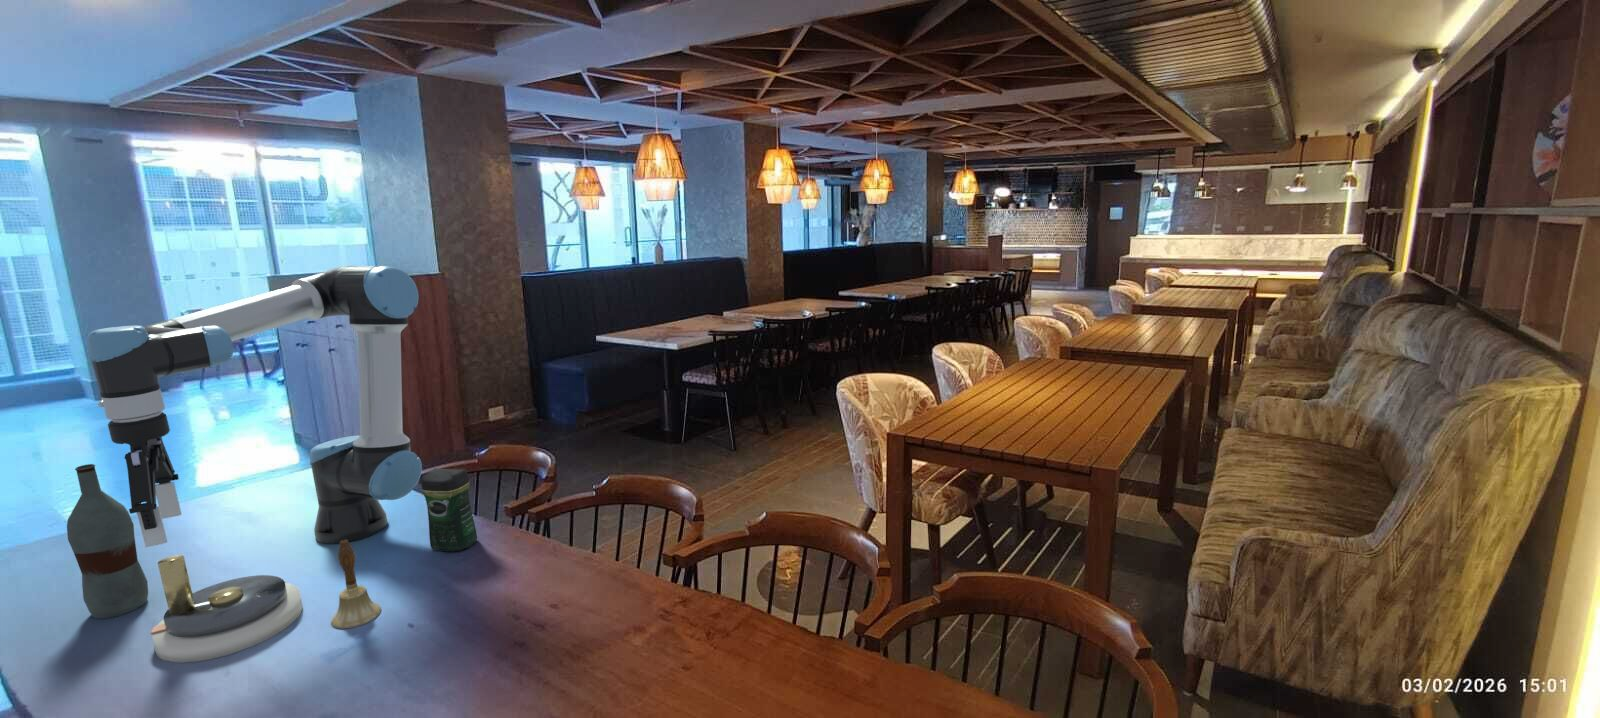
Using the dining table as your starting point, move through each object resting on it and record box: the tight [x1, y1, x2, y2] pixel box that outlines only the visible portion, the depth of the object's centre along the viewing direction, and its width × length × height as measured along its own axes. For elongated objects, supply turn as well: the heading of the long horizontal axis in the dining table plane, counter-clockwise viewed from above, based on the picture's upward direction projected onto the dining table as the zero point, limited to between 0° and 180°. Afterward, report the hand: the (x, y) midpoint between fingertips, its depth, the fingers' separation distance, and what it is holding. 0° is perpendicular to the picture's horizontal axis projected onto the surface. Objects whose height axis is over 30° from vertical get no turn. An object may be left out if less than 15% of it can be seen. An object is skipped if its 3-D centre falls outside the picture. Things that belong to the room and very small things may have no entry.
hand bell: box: [330, 539, 382, 630], centre depth 136 cm, size 8×8×16 cm
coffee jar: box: [421, 468, 478, 552], centre depth 164 cm, size 10×8×19 cm
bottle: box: [66, 463, 149, 620], centre depth 140 cm, size 9×9×30 cm
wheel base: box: [150, 582, 303, 664], centre depth 135 cm, size 22×22×4 cm
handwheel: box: [157, 554, 287, 637], centre depth 133 cm, size 18×18×12 cm
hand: (164, 530), depth 127 cm, fingers open, 13 cm apart
